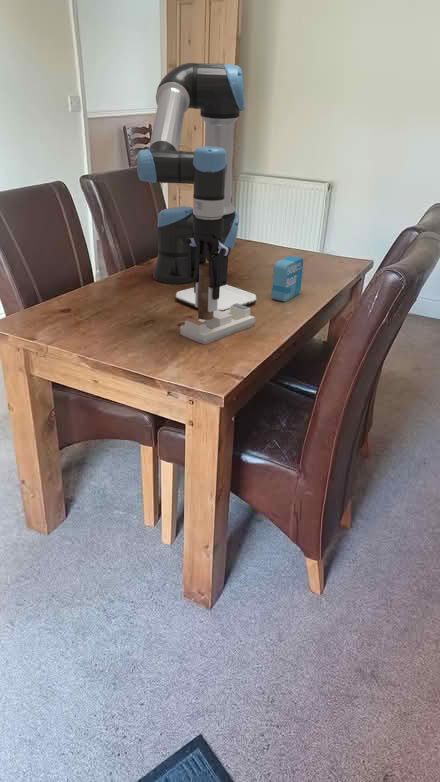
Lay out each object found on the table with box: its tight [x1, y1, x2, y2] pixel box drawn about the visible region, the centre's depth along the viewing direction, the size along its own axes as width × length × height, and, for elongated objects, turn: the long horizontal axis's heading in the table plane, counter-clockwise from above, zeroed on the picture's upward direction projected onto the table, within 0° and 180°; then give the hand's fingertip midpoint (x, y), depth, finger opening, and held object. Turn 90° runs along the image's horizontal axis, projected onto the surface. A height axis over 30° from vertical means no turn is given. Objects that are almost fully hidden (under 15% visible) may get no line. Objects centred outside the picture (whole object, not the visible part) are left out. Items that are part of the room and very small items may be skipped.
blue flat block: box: [271, 255, 304, 303], centre depth 179 cm, size 12×4×12 cm, turn 147°
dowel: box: [197, 262, 214, 320], centre depth 146 cm, size 4×4×14 cm
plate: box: [175, 284, 257, 312], centre depth 176 cm, size 21×21×2 cm
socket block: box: [179, 303, 256, 346], centre depth 154 cm, size 9×20×5 cm, turn 137°
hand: (206, 308), depth 148 cm, fingers closed on dowel, 4 cm apart
